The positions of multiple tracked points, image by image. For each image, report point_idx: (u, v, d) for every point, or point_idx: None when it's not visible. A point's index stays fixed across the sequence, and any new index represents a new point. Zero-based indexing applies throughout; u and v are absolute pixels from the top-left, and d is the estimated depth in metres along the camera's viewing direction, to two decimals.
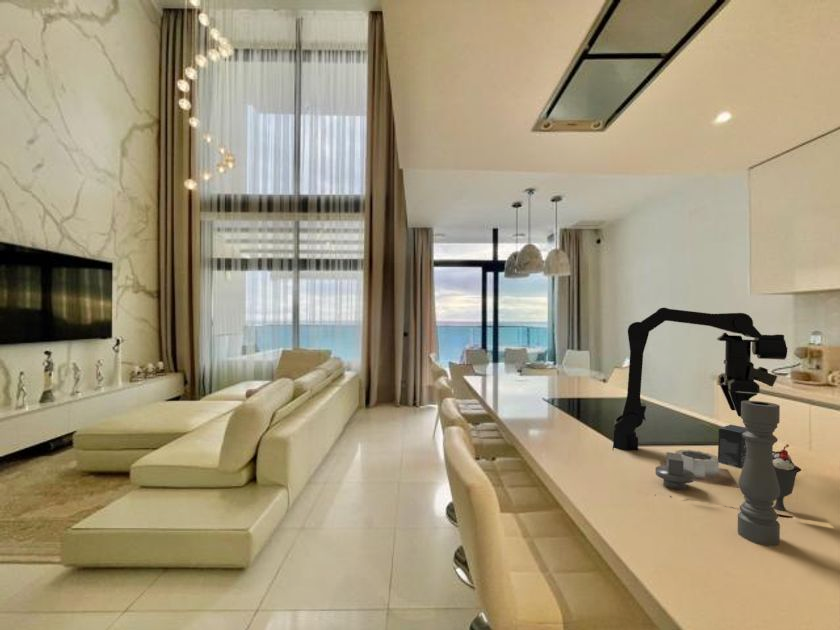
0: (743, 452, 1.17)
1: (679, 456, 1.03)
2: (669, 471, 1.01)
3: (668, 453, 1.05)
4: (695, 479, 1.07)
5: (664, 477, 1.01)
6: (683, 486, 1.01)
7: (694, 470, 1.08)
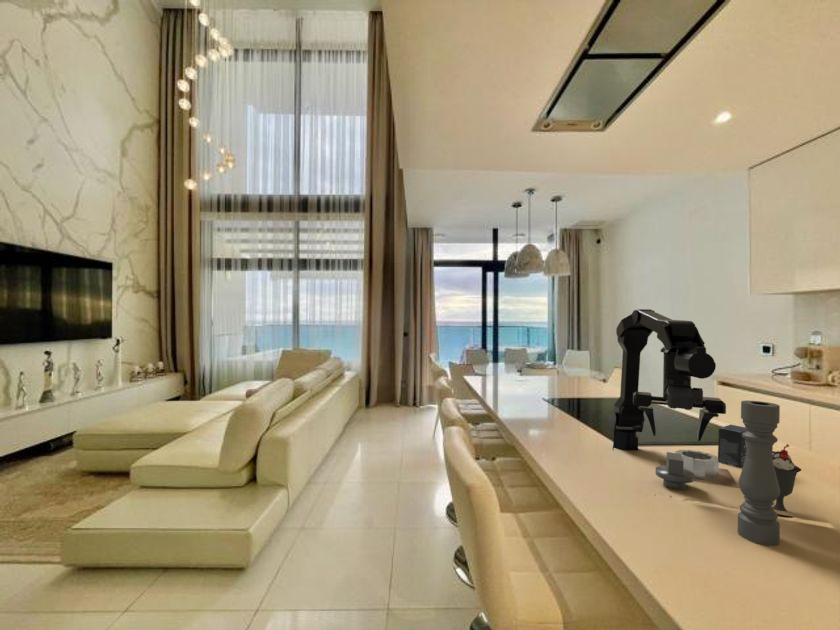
0: (743, 452, 1.17)
1: (679, 456, 1.03)
2: (669, 471, 1.01)
3: (668, 453, 1.05)
4: (695, 479, 1.07)
5: (664, 477, 1.01)
6: (683, 486, 1.01)
7: (694, 470, 1.08)
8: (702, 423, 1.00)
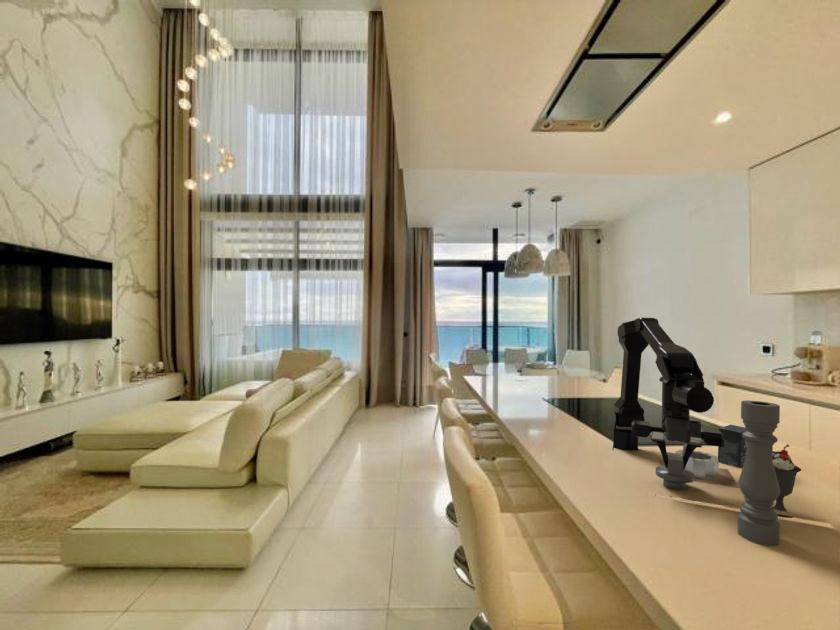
0: (743, 452, 1.17)
1: (679, 456, 1.03)
2: (669, 471, 1.01)
3: (668, 453, 1.05)
4: (695, 479, 1.07)
5: (664, 477, 1.01)
6: (683, 486, 1.01)
7: (694, 470, 1.08)
8: (686, 453, 1.01)
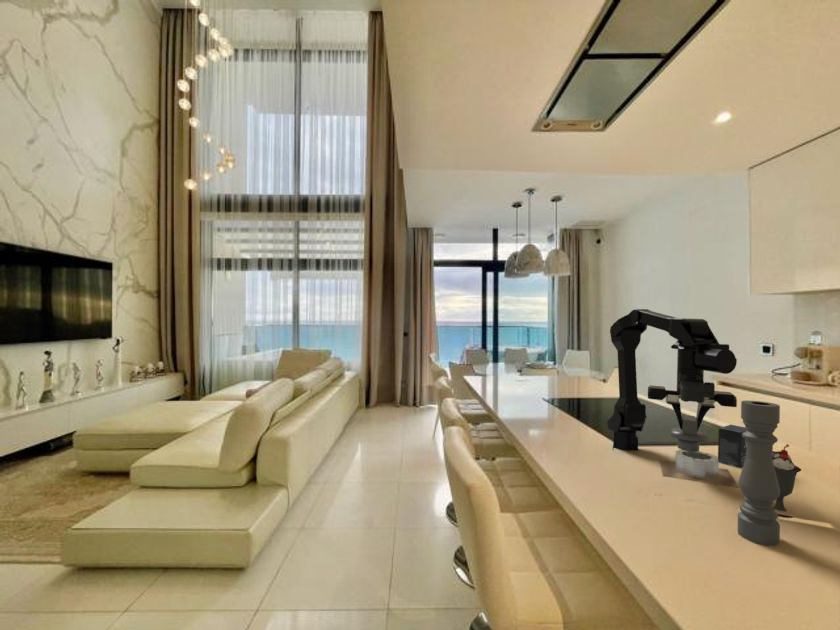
0: (743, 452, 1.17)
1: (693, 418, 1.09)
2: (683, 431, 1.07)
3: (682, 415, 1.11)
4: (695, 479, 1.07)
5: (679, 437, 1.07)
6: (697, 445, 1.07)
7: (694, 470, 1.08)
8: (700, 414, 1.07)
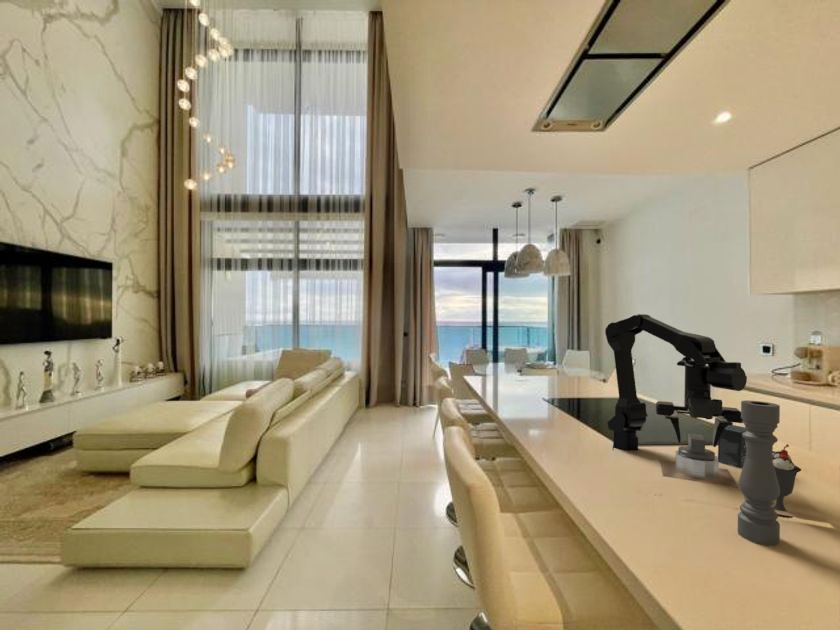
0: (743, 452, 1.17)
1: (700, 436, 1.12)
2: (692, 450, 1.10)
3: (690, 434, 1.14)
4: (695, 479, 1.07)
5: (687, 455, 1.10)
6: None
7: (694, 470, 1.08)
8: (717, 431, 1.09)
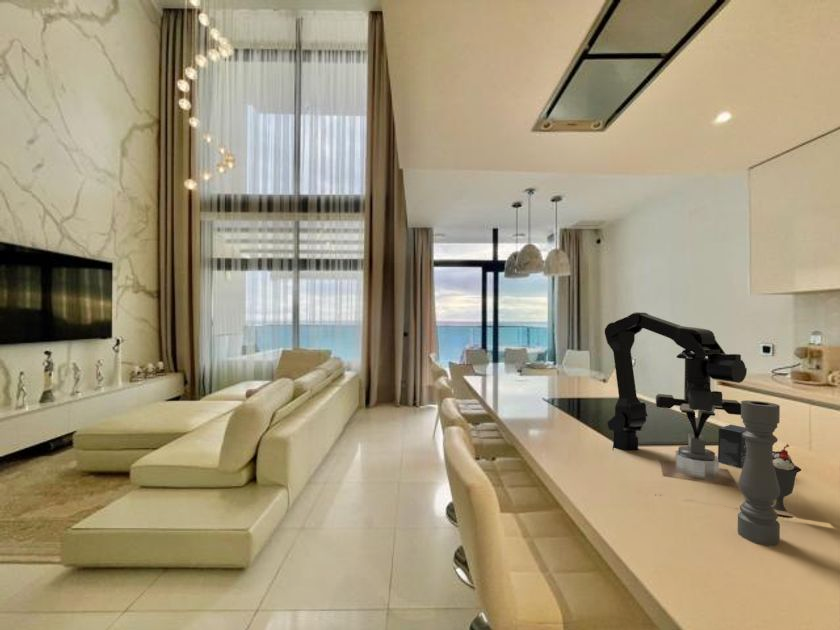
0: (743, 452, 1.17)
1: (700, 436, 1.12)
2: (692, 450, 1.10)
3: (690, 434, 1.14)
4: (695, 479, 1.07)
5: (687, 455, 1.10)
6: None
7: (694, 470, 1.08)
8: (700, 421, 1.11)
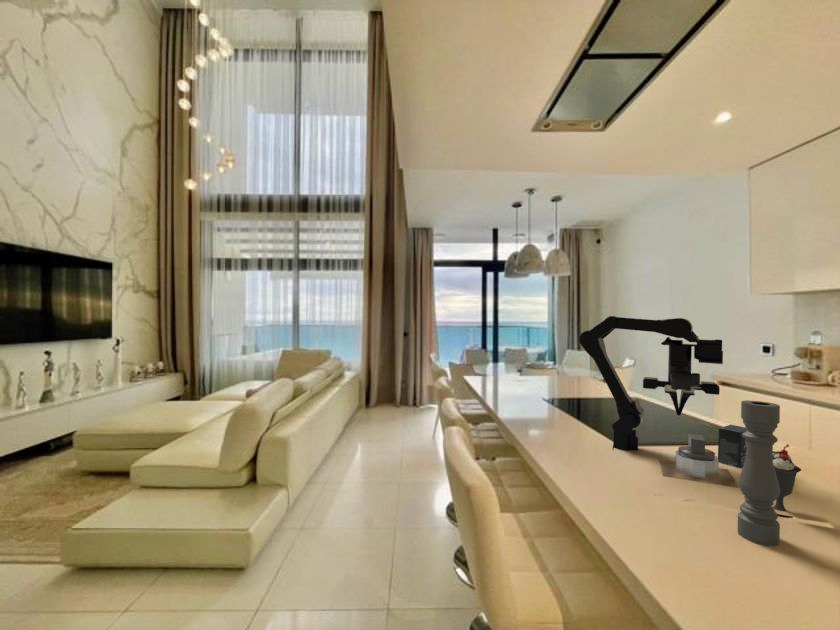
0: (743, 452, 1.17)
1: (700, 436, 1.12)
2: (692, 450, 1.10)
3: (690, 434, 1.14)
4: (695, 479, 1.07)
5: (687, 455, 1.10)
6: None
7: (694, 470, 1.08)
8: (682, 401, 1.23)
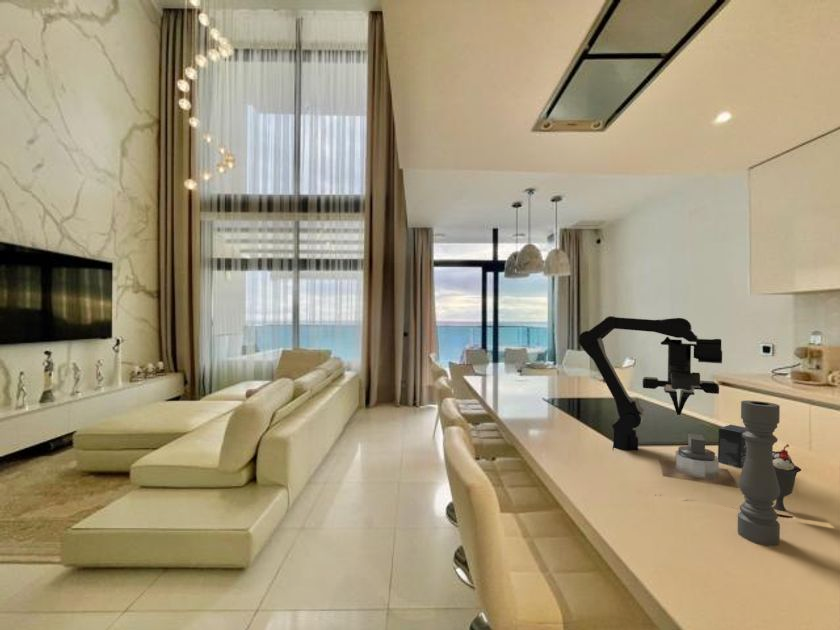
0: (743, 452, 1.17)
1: (700, 436, 1.12)
2: (692, 450, 1.10)
3: (690, 434, 1.14)
4: (695, 479, 1.07)
5: (687, 455, 1.10)
6: None
7: (694, 470, 1.08)
8: (681, 400, 1.24)
